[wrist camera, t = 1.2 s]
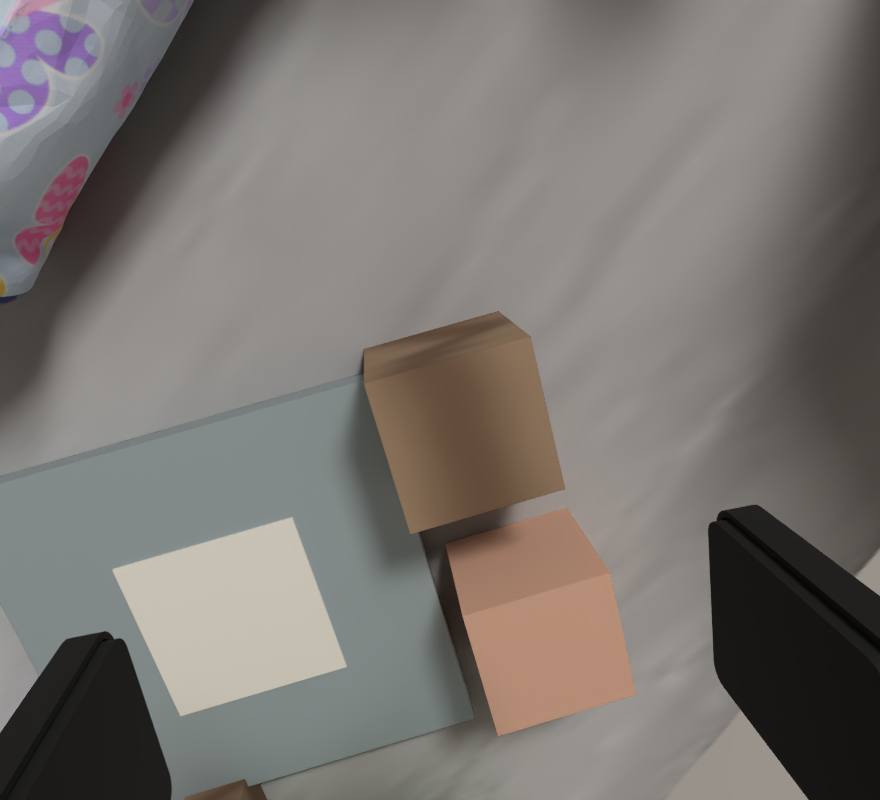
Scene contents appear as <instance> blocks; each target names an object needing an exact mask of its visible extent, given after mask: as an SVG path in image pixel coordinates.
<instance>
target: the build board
mask: <svg viewBox="0 0 880 800" xmlns="http://www.w3.org/2000/svg"><path fill="white" fill-rule="evenodd" d="M0 604H1V606H2V608H3V610H4V612H5V614H6V615H7V617H8V619H9V621H10V623H11V625H12V627H13V629H14V630H15V632H16V634H17V636H18V638H19V640H20V642H21V644H22V645H23V647H24V649H25V651H26V653H27V655H28V657H29V659H30V660H31V662H32V664H33V666H34V668H35V670H36V672H37V674H38V675H39V676H40V675H41V673H42V672H43V670H44V669H45V667H46V666H47V664H48V663H49V661H50V660H51V659H52V657H53V656H54V654H55V653H56V651H57V650H58V648H59V647H60V645H61V644H62V643H63V642H64V641H65V640H66V639H69V638H73V637H78V636H83V635H88V634H93V633H98V632H104V631H107V632H109V633H110V634H111V635H112V636H113V638H114V639H118V638H121V639H123V640H124V641H125V643H126V645H127V647H128V650H129V653H130V656H131V659H132V662H133V665H134V668H135V671H136V674H137V677H138V680H139V683H140V686H141V689H142V692H143V695H144V698H145V701H146V704H147V707H148V710H149V713H150V716H151V719H152V722H153V725H154V728H155V731H156V734H157V737H158V740H159V743H160V746H161V749H162V752H163V755H164V758H165V761H166V764H167V767H168V770H169V773H170V777H171V783H172V795H171V800H184V799H185V797H186V796H190V795H193V794H196V793H200V792H203V791H206V790H210V789H213V788H216V787H220V786H223V785H226V784H230V783H233V782H236V781H240V780H243V779H245V780H246V782H247V784H248V787H249V786H252V785H256V784H259V783H262V782H266V781H269V780H272V779H276V778H279V777H282V776H286V775H289V774H292V773H296V772H299V771H302V770H306V769H309V768H312V767H316V766H319V765H322V764H326V763H329V762H332V761H336V760H339V759H342V758H346V757H349V756H352V755H356V754H359V753H362V752H366V751H369V750H372V749H375V748H379V747H382V746H385V745H389V744H392V743H395V742H399V741H402V740H405V739H409V738H412V737H415V736H419V735H422V734H425V733H429V732H432V731H435V730H439V729H442V728H445V727H449V726H452V725H455V724H459V723H462V722H465V721H469V720H472V719H475V717H474V712H473V707H472V703H471V699H470V696H469V692H468V689H467V686H466V683H465V679H464V676H463V673H462V670H461V666H460V663H459V660H458V657H457V653H456V650H455V647H454V643H453V640H452V637H451V634H450V630H449V627H448V624H447V621H446V617H445V614H444V611H443V607H442V604H441V601H440V598H439V594H438V591H437V588H436V585H435V581H434V578H433V575H432V571H431V568H430V565H429V562H428V558H427V555H426V552H425V549H424V545H423V542H422V539H421V535H420V532H417V533H413V534H410V531H409V528H408V525H407V521H406V518H405V515H404V512H403V509H402V505H401V502H400V499H399V496H398V492H397V489H396V486H395V483H394V480H393V476H392V473H391V470H390V467H389V463H388V460H387V457H386V454H385V450H384V447H383V444H382V441H381V438H380V434H379V431H378V428H377V425H376V421H375V418H374V415H373V412H372V408H371V405H370V402H369V399H368V396H367V392H366V389H365V386H364V373H363V374H359V375H356V376H352V377H349V378H345V379H342V380H338V381H335V382H331V383H328V384H324V385H321V386H317V387H314V388H310V389H307V390H303V391H300V392H296V393H293V394H289V395H286V396H282V397H279V398H275V399H271V400H268V401H264V402H261V403H257V404H254V405H250V406H247V407H243V408H240V409H236V410H233V411H229V412H226V413H222V414H219V415H215V416H212V417H208V418H205V419H201V420H198V421H194V422H191V423H187V424H184V425H180V426H177V427H173V428H170V429H166V430H162V431H159V432H155V433H152V434H148V435H145V436H141V437H138V438H134V439H131V440H127V441H124V442H120V443H117V444H113V445H110V446H106V447H103V448H99V449H96V450H92V451H89V452H85V453H82V454H78V455H75V456H71V457H68V458H64V459H61V460H57V461H54V462H50V463H46V464H43V465H39V466H36V467H32V468H29V469H25V470H22V471H18V472H15V473H11V474H8V475H4V476H1V477H0Z"/></svg>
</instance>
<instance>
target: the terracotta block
mask: <svg viewBox="0 0 880 800" xmlns="http://www.w3.org/2000/svg"><path fill="white" fill-rule="evenodd" d="M445 545H446V549H447V553H448V557H449V561H450V566H451V570H452V574H453V578H454V582H455V587H456V591H457V595H458V599H459V603H460V608H461V612H462V616H463V619H464V623H465V626H466V630H467V633H468V636H469V640H470V643H471V646H472V650H473V653H474V656H475V660H476V663H477V667H478V670H479V673H480V677H481V680H482V683H483V687H484V690H485V694H486V697H487V700H488V704H489V707H490V710H491V714H492V717H493V720H494V724H495V727H496V731H497V734H498V736H501V735H504V734H507V733H511V732H514V731H517V730H521V729H524V728H527V727H531V726H534V725H537V724H541V723H544V722H547V721H550V720H554V719H557V718H560V717H564V716H567V715H570V714H574V713H577V712H580V711H584V710H587V709H590V708H594V707H597V706H600V705H604V704H607V703H610V702H613V701H617V700H620V699H623V698H627V697H630V696H633V695H636V691H635V686H634V682H633V677H632V672H631V668H630V663H629V659H628V654H627V649H626V645H625V640H624V635H623V631H622V626H621V621H620V617H619V612H618V607H617V603H616V598H615V594H614V589H613V584H612V580H611V575H610V572H609V570H608V569H607V567H606V566H605V564H604V563H603V561H602V560H601V558H600V557H599V555H598V554H597V552H596V551H595V549H594V548H593V546H592V545H591V543H590V542H589V540H588V539H587V537H586V536H585V534H584V533H583V531H582V530H581V528H580V527H579V525H578V524H577V522H576V521H575V519H574V518H573V516H572V515H571V513H570V512H569V510H568V509H567V508H565V509H562V510H558V511H555V512H551V513H548V514H545V515H541V516H538V517H534V518H531V519H528V520H524V521H521V522H517V523H514V524H510V525H507V526H504V527H500V528H497V529H493V530H490V531H487V532H483V533H480V534H476V535H473V536H470V537H466V538H463V539H459V540H456V541H452V542H449V543H446V544H445Z"/></svg>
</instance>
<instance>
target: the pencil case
mask: <svg viewBox="0 0 880 800" xmlns="http://www.w3.org/2000/svg"><path fill="white" fill-rule="evenodd" d="M193 2H194V0H0V304H4V303H7V302H11V301H13V300H16V299H18V298H19V297H21V296H22V294H23V293H26V292H27V291H29V290H30V289H31V288H32V287H33V285H34V283H35V281H36V279H37V276H38V274H39V272H40V270H41V268H42V266H43V265H44V263H45V261H46V259H47V257H48V255H49V253H50V251H51V248H52V246H53V244H54V242H55V240H56V238H57V236H58V235H59V233H60V231H61V229H62V227H63V224H64V221H65V218H66V216H67V214H68V212H69V210H70V208H71V206H72V204H73V203H74V201H75V200H76V198H77V196H78V195H79V193H80V191H81V189H82V188H83V186H84V184H85V183H86V181H87V179H88V177H89V176H90V174H91V172H92V171H93V169H94V167H95V166H96V164H97V162H98V161H99V159H100V158H101V156H102V154H103V153H104V151H105V149H106V148H107V146H108V144H109V143H110V141H111V140H112V138H113V136H114V135H115V133H116V132H117V131H118V130H119V128H120V127H121V126H122V125H123V123H124V121H125V120H126V118H127V117H128V115H129V114H130V112H131V111H132V109H133V108H134V106H135V104H136V102H137V101H138V99H139V97H140V95H141V94H142V92H143V90H144V88H145V86H146V84H147V82H148V81H149V79H150V77H151V76H152V74H153V73H154V71H155V69H156V68H157V66H158V65H159V63H160V61H161V60H162V58H163V56H164V54H165V53H166V51H167V49H168V47H169V45H170V43H171V41H172V40H173V38H174V36H175V34H176V32H177V31H178V29H179V27H180V25H181V23H182V22H183V20H184V18H185V16H186V15H187V13H188V11H189V9H190V7H191V5H192V3H193Z"/></svg>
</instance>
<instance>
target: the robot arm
mask: <svg viewBox="0 0 880 800" xmlns="http://www.w3.org/2000/svg"><path fill="white" fill-rule="evenodd" d="M708 537H709V560H710V583H711V606H712V629H713V652H714V665H715V669H716V672H717V675H718V678H719V680H720V682H721V684H722V685H723V687H724V688H725V690H726V691H727V692H728V693H729V695H730V696H731V697H732V699H733V700H734V701H735V703H736V704H737V705H738V707H739V708H740V709H741V711H742V712H743V713H744V715H745V716H746V717H747V719H748V720H749V721H750V723H751V724H752V725H753V727H754V728H755V729H756V730H757V732H758V733H759V734H760V736H761V737H762V739H763V740H764V741H765V742H766V743H767V745H768V746H769V748H770V749H771V750H772V752H773V753H774V754H775V756H776V757H777V758H778V760H779V761H780V762H781V764H782V765H783V766H784V768H785V769H786V770H787V772H788V773H789V774H790V776H791V777H792V778H793V780H794V781H795V782H796V784H797V785H798V786H799V788H800V789H801V790H802V791H803V793H804V794H805V795H806V797H807V798H808V799H809V800H880V596H879V595H878V594H876V593H875V592H874V591H872V590H871V589H869V588H868V587H867V586H866V585H864V584H863V583H861V582H860V581H859V580H858V579H856V578H855V577H854V576H852V575H851V574H850V573H848V572H847V571H846V570H844V569H843V568H842V567H840V566H839V565H838V564H836V563H835V562H834V561H832V560H831V559H830V558H828V557H827V556H826V555H824V554H823V553H822V552H820V551H819V550H818V549H816V548H815V547H814V546H812V545H811V544H810V543H808V542H807V541H806V540H804V539H803V538H802V537H800V536H799V535H798V534H796V533H795V532H794V531H792V530H791V529H790V528H788V527H787V526H786V525H784V524H783V523H782V522H780V521H779V520H778V519H776V518H775V517H774V516H772V515H771V514H770V513H768V512H767V511H766V510H764V509H763V508H762V507H760V506H758V505H750V506H745V507H740V508H734V509H729V510H724V511H721V512H720V513H719V514H718V517H717V521H715V522H711V523H710V525H709V528H708ZM171 795H172V783H171V777H170V773H169V770H168V767H167V764H166V761H165V758H164V755H163V752H162V749H161V746H160V743H159V740H158V737H157V734H156V731H155V728H154V725H153V722H152V719H151V716H150V713H149V710H148V707H147V704H146V701H145V698H144V695H143V692H142V689H141V686H140V683H139V680H138V677H137V674H136V671H135V668H134V665H133V662H132V659H131V656H130V653H129V650H128V647H127V645H126V643H125V641H124V640H123V639H121V638H118V639H114V638H113V636H112V635H111V634H110V633H109V632H107V631H104V632H98V633H93V634H88V635H83V636H78V637H73V638H69V639H66V640H65V641H64V642H63V643H62V644H61V645H60V647H59V648H58V650H57V651H56V653H55V654H54V656H53V657H52V659H51V660H50V661H49V663H48V664H47V666H46V667H45V669H44V670H43V672H42V673H41V675H40V676H39V677H38V679H37V680H36V682H35V683H34V685H33V686H32V688H31V689H30V691H29V692H28V693H27V695H26V696H25V698H24V699H23V701H22V702H21V704H20V705H19V707H18V708H17V709H16V711H15V712H14V714H13V715H12V717H11V718H10V720H9V721H8V723H7V724H6V725H5V727H4V728H3V730H2V731H1V733H0V800H171Z"/></svg>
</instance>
